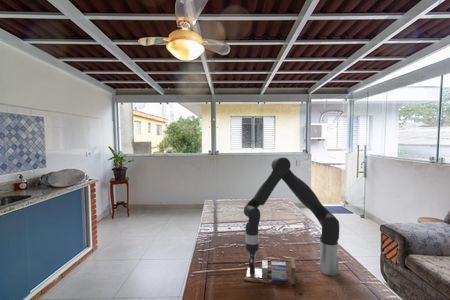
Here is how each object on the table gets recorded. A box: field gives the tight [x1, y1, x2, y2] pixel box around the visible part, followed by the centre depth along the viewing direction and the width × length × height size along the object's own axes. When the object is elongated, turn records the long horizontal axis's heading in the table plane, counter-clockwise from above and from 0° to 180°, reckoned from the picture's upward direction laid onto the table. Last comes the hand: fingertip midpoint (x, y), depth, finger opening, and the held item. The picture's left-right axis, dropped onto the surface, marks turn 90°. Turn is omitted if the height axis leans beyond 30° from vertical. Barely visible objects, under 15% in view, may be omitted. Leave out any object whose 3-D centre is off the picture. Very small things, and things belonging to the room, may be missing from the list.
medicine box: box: [270, 260, 287, 282], centre depth 133 cm, size 8×4×9 cm, turn 85°
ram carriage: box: [245, 259, 269, 279], centre depth 135 cm, size 12×9×10 cm
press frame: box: [243, 257, 296, 285], centre depth 134 cm, size 27×12×9 cm, turn 79°
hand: (252, 270), depth 136 cm, fingers closed on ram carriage, 3 cm apart
